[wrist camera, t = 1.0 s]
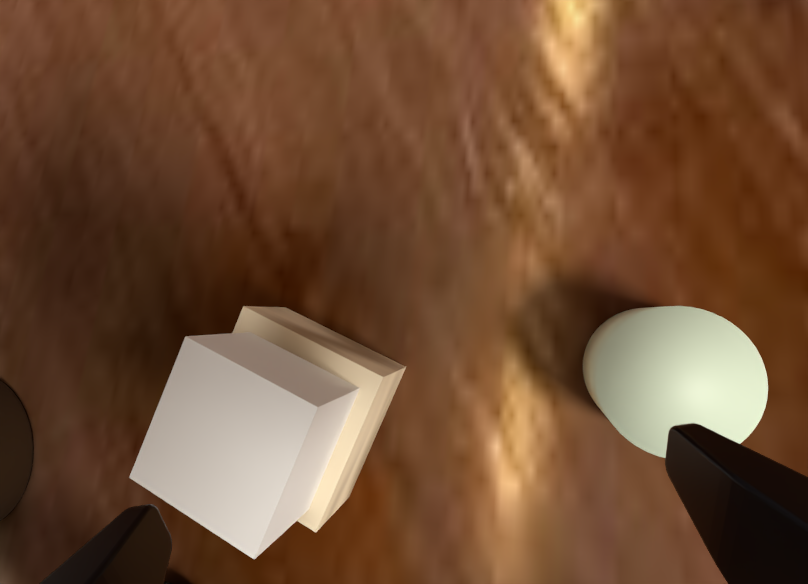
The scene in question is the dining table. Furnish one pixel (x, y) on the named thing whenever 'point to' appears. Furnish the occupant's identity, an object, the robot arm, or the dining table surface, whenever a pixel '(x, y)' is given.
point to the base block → (348, 364)
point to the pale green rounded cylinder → (674, 375)
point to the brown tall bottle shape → (13, 450)
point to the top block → (242, 436)
